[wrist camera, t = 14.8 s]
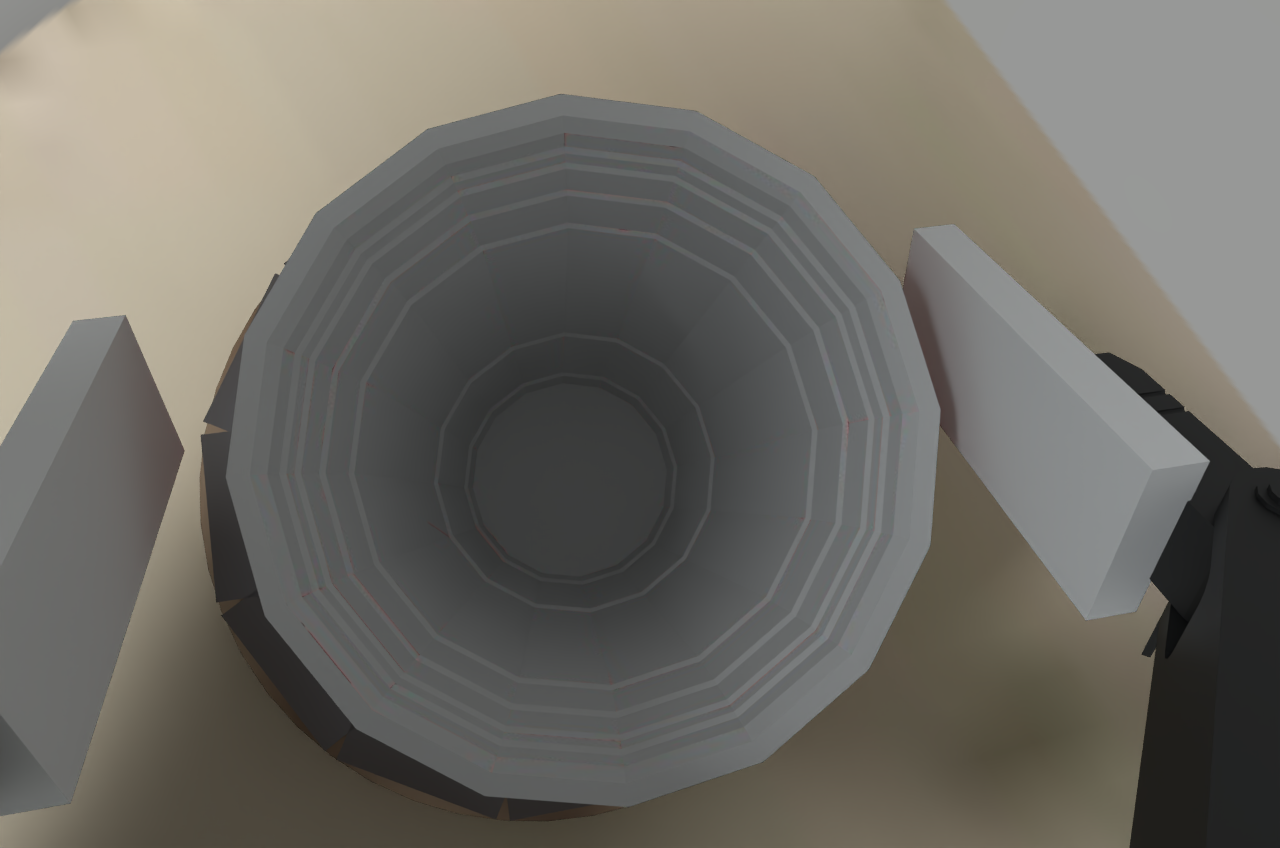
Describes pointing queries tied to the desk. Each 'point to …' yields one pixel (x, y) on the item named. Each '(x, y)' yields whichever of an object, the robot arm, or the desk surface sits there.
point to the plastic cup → (584, 451)
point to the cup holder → (286, 670)
